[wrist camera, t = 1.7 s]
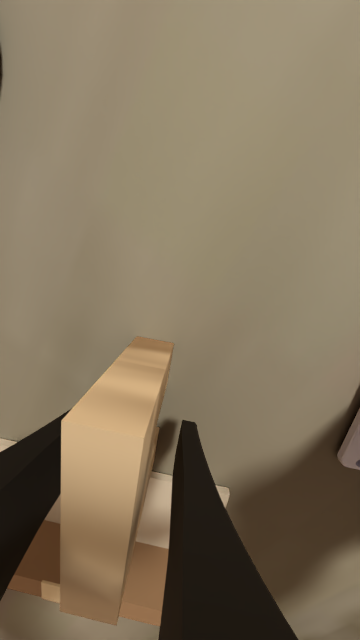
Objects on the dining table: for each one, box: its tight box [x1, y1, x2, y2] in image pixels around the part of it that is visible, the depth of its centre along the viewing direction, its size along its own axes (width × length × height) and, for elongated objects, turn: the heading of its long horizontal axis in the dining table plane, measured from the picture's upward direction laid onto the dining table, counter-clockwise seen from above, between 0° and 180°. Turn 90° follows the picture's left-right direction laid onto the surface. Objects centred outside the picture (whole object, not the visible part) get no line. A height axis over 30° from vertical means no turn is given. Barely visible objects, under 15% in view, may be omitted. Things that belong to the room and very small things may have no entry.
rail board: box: [0, 438, 230, 626], centre depth 13 cm, size 16×14×3 cm
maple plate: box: [60, 336, 174, 625], centre depth 9 cm, size 8×2×6 cm, turn 170°
